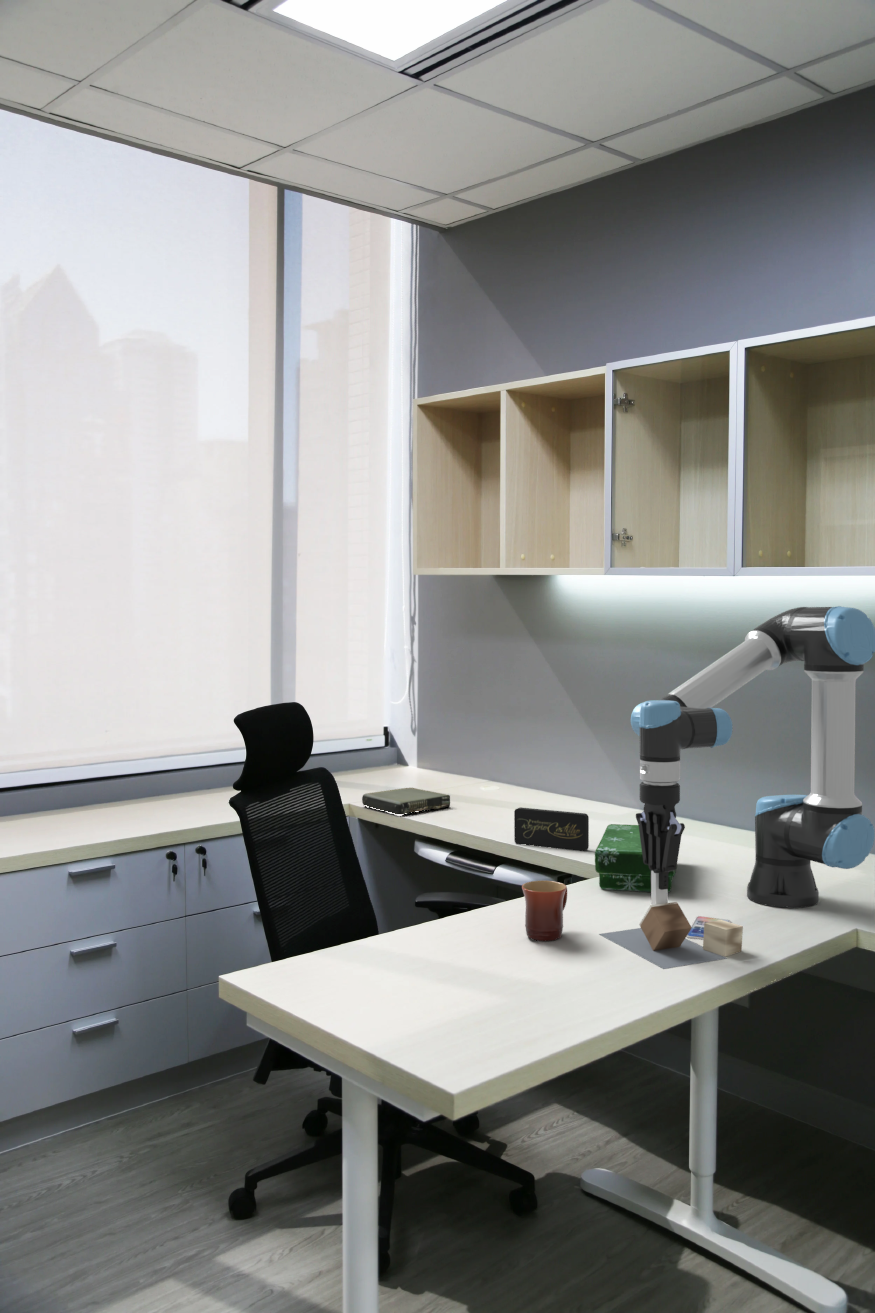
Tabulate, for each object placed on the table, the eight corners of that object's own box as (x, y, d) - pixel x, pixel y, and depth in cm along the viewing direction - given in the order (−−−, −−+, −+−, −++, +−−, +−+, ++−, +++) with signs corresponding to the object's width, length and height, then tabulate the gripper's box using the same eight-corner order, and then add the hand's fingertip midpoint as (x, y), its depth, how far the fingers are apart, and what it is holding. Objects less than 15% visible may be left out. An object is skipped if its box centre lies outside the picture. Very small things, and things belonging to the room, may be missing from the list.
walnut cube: (676, 901, 200) (691, 927, 196) (665, 920, 204) (679, 946, 200) (650, 905, 198) (664, 931, 194) (639, 924, 202) (653, 951, 197)
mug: (550, 947, 201) (550, 894, 200) (513, 939, 206) (513, 887, 206) (583, 932, 210) (583, 881, 210) (547, 924, 216) (546, 875, 215)
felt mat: (658, 927, 213) (657, 925, 213) (727, 960, 193) (727, 958, 193) (598, 935, 208) (598, 934, 208) (663, 970, 188) (663, 969, 188)
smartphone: (732, 919, 216) (722, 941, 202) (732, 924, 216) (722, 946, 203) (695, 915, 219) (684, 936, 205) (695, 920, 219) (683, 940, 205)
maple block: (719, 945, 201) (721, 919, 201) (741, 952, 197) (742, 926, 197) (702, 949, 198) (704, 923, 198) (724, 956, 194) (726, 929, 194)
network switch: (405, 819, 326) (405, 803, 326) (354, 810, 342) (354, 794, 342) (455, 808, 344) (455, 793, 343) (404, 800, 359) (404, 785, 359)
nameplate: (514, 844, 290) (514, 808, 289) (517, 842, 291) (517, 807, 291) (586, 852, 280) (586, 815, 279) (588, 850, 281) (588, 813, 281)
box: (674, 896, 236) (675, 852, 236) (593, 891, 241) (593, 848, 241) (679, 863, 267) (679, 824, 266) (607, 859, 272) (607, 821, 271)
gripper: (624, 778, 204) (623, 898, 205) (663, 788, 192) (662, 916, 193) (656, 775, 207) (656, 894, 208) (697, 785, 195) (696, 911, 196)
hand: (659, 904), depth 200 cm, fingers closed
